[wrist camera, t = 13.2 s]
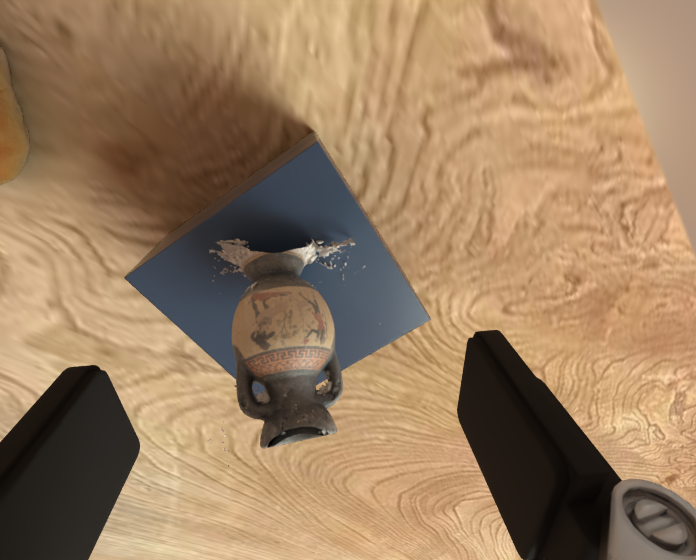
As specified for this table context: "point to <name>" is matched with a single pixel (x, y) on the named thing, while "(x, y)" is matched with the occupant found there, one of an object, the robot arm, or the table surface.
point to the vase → (284, 343)
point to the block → (275, 237)
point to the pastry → (11, 127)
